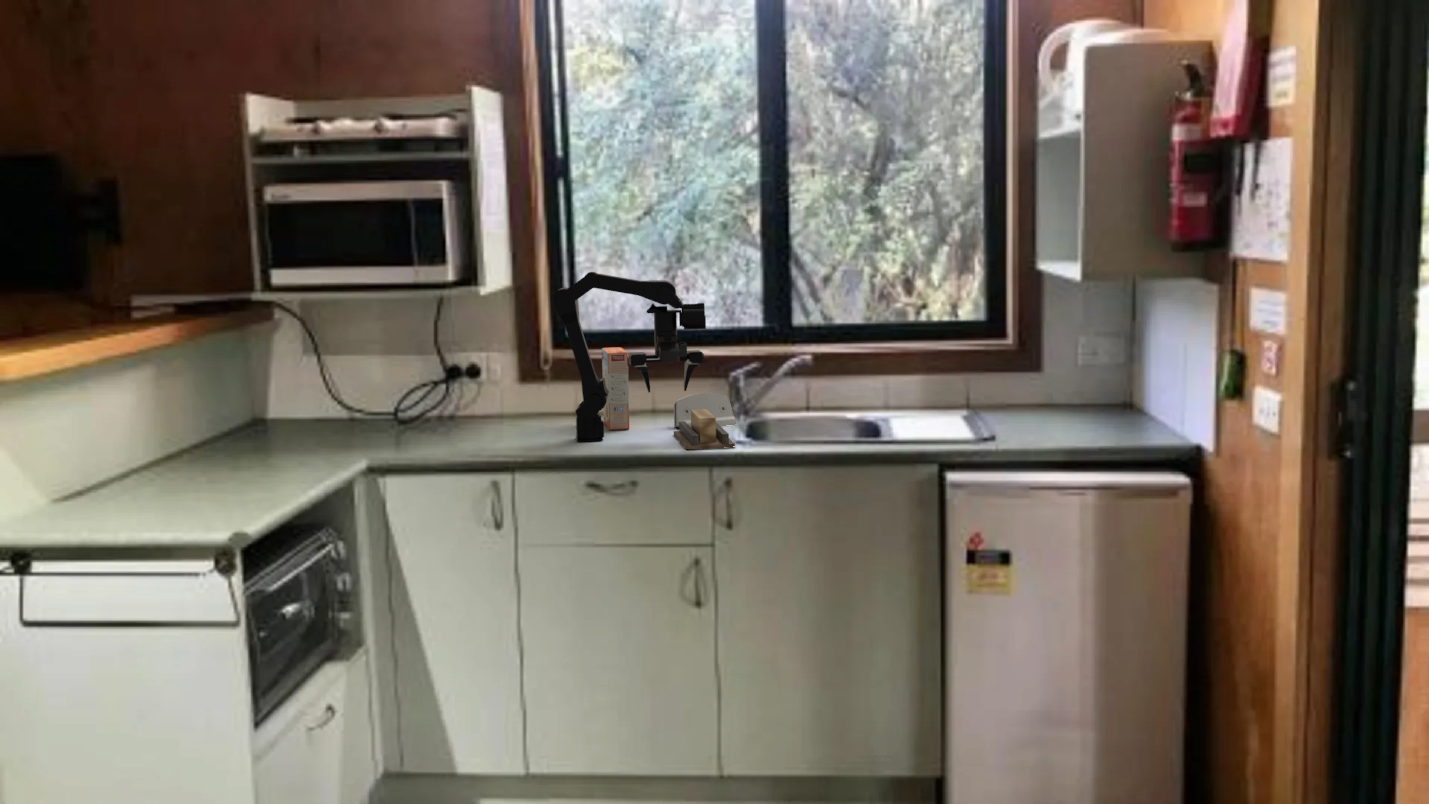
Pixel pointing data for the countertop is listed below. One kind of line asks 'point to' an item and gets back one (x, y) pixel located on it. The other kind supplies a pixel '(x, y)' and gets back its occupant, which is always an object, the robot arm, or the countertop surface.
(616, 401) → the cracker box
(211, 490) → the countertop surface
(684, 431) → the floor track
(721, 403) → the grey upright panel
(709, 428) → the wooden block
